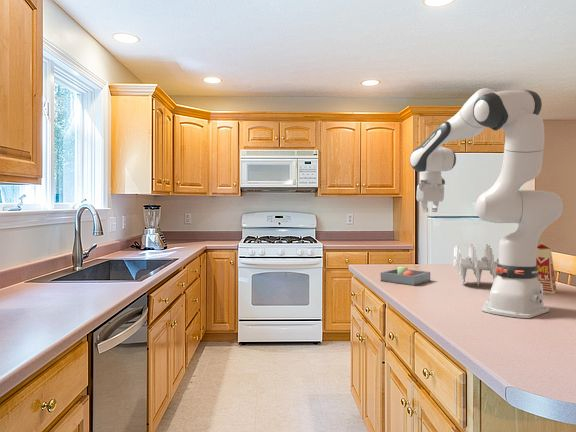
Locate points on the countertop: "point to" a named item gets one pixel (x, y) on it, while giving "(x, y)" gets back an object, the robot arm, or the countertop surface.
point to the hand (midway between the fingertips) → (430, 212)
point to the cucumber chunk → (402, 270)
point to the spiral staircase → (475, 262)
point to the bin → (405, 277)
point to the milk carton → (545, 269)
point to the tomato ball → (408, 273)
